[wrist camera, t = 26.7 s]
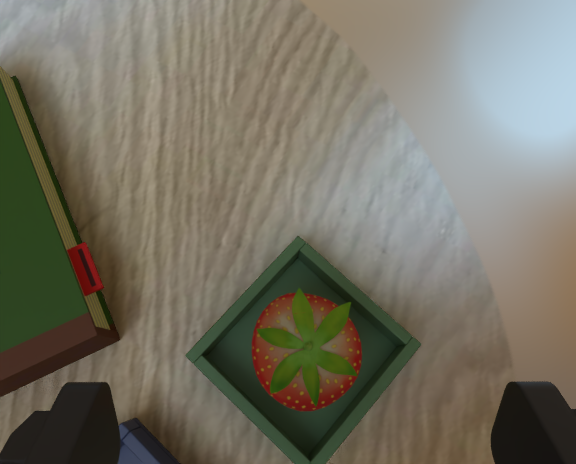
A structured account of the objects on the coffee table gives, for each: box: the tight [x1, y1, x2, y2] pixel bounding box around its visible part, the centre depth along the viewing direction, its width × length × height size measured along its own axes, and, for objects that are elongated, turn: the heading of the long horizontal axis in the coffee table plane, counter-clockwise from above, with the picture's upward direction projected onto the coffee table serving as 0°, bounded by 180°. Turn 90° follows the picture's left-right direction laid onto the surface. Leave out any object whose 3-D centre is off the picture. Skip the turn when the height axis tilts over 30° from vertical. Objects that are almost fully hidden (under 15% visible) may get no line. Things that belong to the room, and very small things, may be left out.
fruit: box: [252, 288, 362, 411], centre depth 23 cm, size 5×5×8 cm
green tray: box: [186, 236, 421, 464], centre depth 26 cm, size 9×9×3 cm
